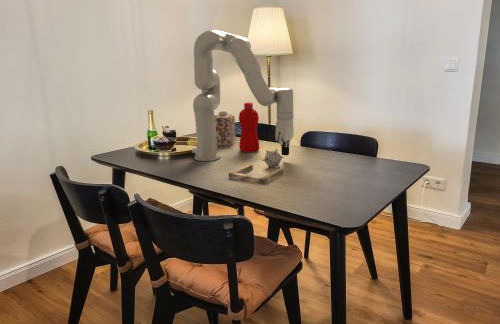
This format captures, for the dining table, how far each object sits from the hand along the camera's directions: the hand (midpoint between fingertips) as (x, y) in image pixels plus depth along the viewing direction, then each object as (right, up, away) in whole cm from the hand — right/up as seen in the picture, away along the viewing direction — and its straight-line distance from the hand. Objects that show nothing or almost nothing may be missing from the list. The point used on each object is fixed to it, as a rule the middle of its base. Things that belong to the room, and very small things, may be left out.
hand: (285, 154), depth 188 cm
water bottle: (-16, +2, +22) cm, 27 cm away
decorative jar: (-31, +7, +41) cm, 52 cm away
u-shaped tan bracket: (-13, -9, -19) cm, 25 cm away
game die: (-6, -6, -8) cm, 12 cm away
